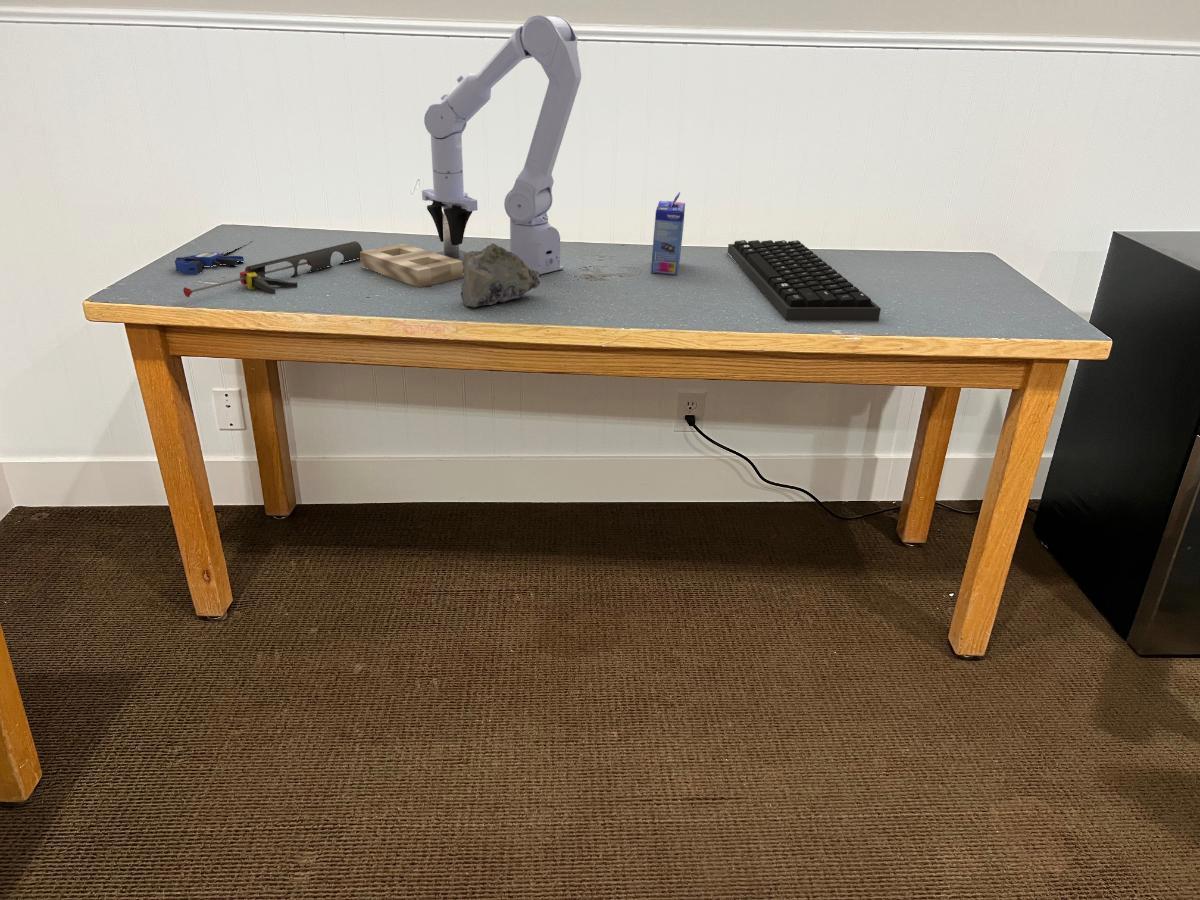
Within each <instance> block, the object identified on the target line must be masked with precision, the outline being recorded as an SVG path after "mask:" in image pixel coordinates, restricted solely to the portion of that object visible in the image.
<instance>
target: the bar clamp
mask: <svg viewBox="0 0 1200 900" xmlns="http://www.w3.org/2000/svg"><path fill="white" fill-rule="evenodd" d="M224 252H225V251H224ZM224 252H221V253H219V252H201V253H197V254H194V255H189V256H181V257H175V260H174V265H175V269H176V270H175V271H177V270H178V271H177V272H179V271H180V272H179V273H181V272H182V274H184V273H186V274H185V275H198V274H197V273H199V274H201V273H203V272H202V271H204V270H203V269H204V268H202V267H204V266H210V267H211V266H213V265H217V266H216V267H220V266H221V265H220V264H226V265H233V266H235V265H238V264H239V263H237V261H239V262H241V261H244V262H245V260H244V256H242V255H228V254H227V253H228V252H227V253H225V254H227V255H225V254H223V253H224ZM224 255H225V256H224ZM233 266H232V267H233ZM200 272H201V273H200Z"/></svg>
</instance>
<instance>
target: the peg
mask: <svg viewBox="0 0 1200 900" xmlns="http://www.w3.org/2000/svg"><path fill="white" fill-rule="evenodd" d="M447 208H452V206H450V205H442V223H443V242H442V243H443V251H444V256H447V257H450V258H453V259H458V258H459V257H460V256H459V250H460V244H459V245H452V243H451V239H450V231H449V225H448V221H447V218H446V216H445V213H444V211H443V209H447Z"/></svg>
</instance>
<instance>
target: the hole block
mask: <svg viewBox="0 0 1200 900" xmlns="http://www.w3.org/2000/svg"><path fill="white" fill-rule="evenodd" d="M360 258H361V259H360V267H361V266H363V267H365V268H368V269H370V270H373V271H375V272H374V273H376V272H378V273H377V274H379V273H381V274H380V275H382V274H383V275H382V276H385V275H386V276H385V277H388V276H389V277H388V278H391V279H393V280H394V279H395V280H397V281H400V282H402V283H406V284H408V285H411V286H414V287H417V288H422V287H426V286H427V287H428V286H430V285H435V284H440V283H443V282H444V283H445V282H448V281H452V280H456V279H457V280H458V279H462V278H464V273H463V272H462V271H463V262H462V261H460V260H457V259H453V258H450V257H447V256H443V255H440V254H437V252H434V251H433V252H432V251H429V250H426V249H423V248H419V247H416V246H413V245H411V244H410V245H409V244H408V243H407V244H406V243H400V244H395V245H389V246H383V247H379V248H374V249H373V248H372V249H369V250H368V249H367V250H362V251H361V252H360ZM370 270H369V271H370ZM373 271H372V272H373Z"/></svg>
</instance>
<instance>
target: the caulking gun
mask: <svg viewBox="0 0 1200 900" xmlns="http://www.w3.org/2000/svg"><path fill="white" fill-rule="evenodd" d="M361 251H363V248H362V245H361V244H360V243H359V242H358V241H355V240H354V241H350V242H346V243H343V244H337V245H332V246H328V247H325V248H319V249H316V250H312V251H307V252H303V253H300V254H299V253H298V254H295V255H290V256H287V257H282V258H278V259H273V260H270V261H269V260H268V261H264V262H260V263H256V264H252V265H247V266H245V269H244V271H241V272H239V278H233V279H230V280H226V281H221V282H217V283H213V284H208V285H206V286H201V287H198V288H192V289H191V288H187V287H186V286H185V287H183V291H182V292H183V294H184V296H185V297H187V298H190V296H191V295H192V294H193V293H195V292H199V291H203V290H207V289H211V288H214V287H218V286H219V287H220V286H224V285H226V284H232V283H236V282H240V283H241V284H242V285H244V286H246V288H248V290H254V289H258V288H259V289H260V290H262V291H264V292H266V293H269V294H276V289H275V288H273V286H276V287H282V288H288V287H291V288H298V287H297V286H299V285H298V284H299V283H298V281H297V282H292V281H287V280H282V279H278V278H274V279H273V278H271V277H268V276H266V275H269V274H271V273H276V272H280V271H285V270H287V269H292V268H293V269H294V271H293V273H294V274H293V273H292V276H293V277H295V275H297V276H299V275H298V273H299V271H298V267H300V266H303V265H308V266H309V267H310V268H309V270H307V272H309V273H311V272H310V271H313V272H315V271H314V270H317V269H320V268H324V267H327V266H332V261H331V259H332V255H333V253H335V252H338V253H340V254H341V255H342V257H343V259H342V261H341V262H345V261H349V260H353V259H357V258H360V252H361ZM303 260H305V261H303ZM301 261H303V262H301ZM283 262H285V263H286V262H287V263H290V264H291V265H287V266H284V267H279V268H275V269H270V270H266V267H267V266H271V265H274V264H275V265H276V264H280V263H283ZM324 269H325V268H324ZM320 270H321V269H320ZM317 271H318V270H317ZM295 286H296V287H295Z"/></svg>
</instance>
